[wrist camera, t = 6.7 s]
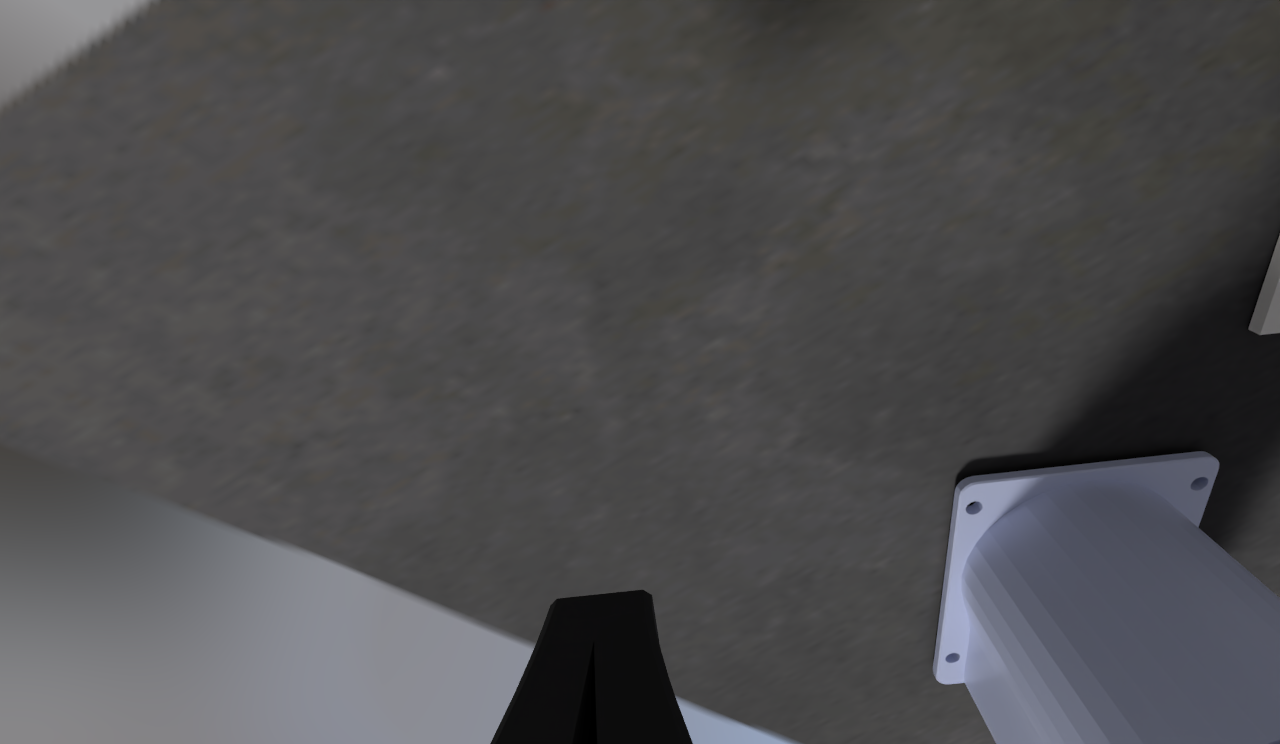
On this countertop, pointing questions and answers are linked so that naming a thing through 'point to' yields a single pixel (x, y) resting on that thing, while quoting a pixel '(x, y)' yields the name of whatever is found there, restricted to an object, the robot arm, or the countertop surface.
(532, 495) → the countertop surface
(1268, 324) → the mat
